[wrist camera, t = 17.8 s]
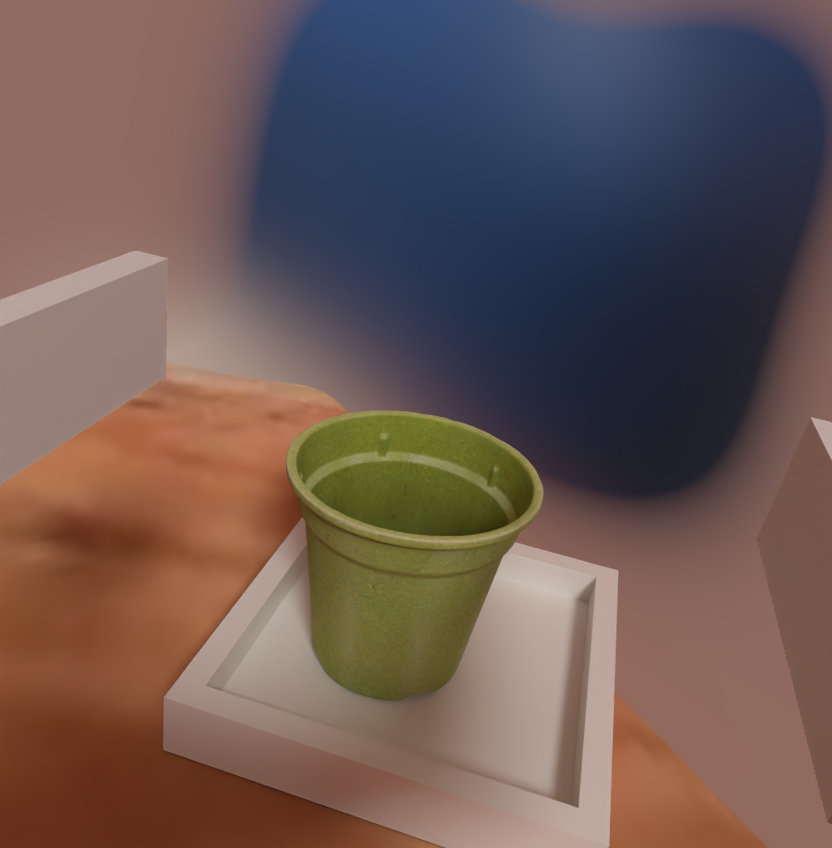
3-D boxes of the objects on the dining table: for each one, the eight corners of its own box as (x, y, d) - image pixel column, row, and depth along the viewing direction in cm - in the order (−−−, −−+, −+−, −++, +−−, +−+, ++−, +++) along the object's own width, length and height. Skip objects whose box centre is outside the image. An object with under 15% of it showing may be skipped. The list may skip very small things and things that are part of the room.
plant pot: (224, 686, 29) (236, 487, 25) (325, 553, 37) (346, 389, 33) (465, 776, 27) (517, 575, 23) (515, 614, 35) (560, 447, 31)
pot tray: (163, 749, 27) (163, 697, 26) (318, 530, 40) (323, 489, 39) (588, 897, 25) (609, 845, 23) (604, 611, 38) (618, 570, 37)
